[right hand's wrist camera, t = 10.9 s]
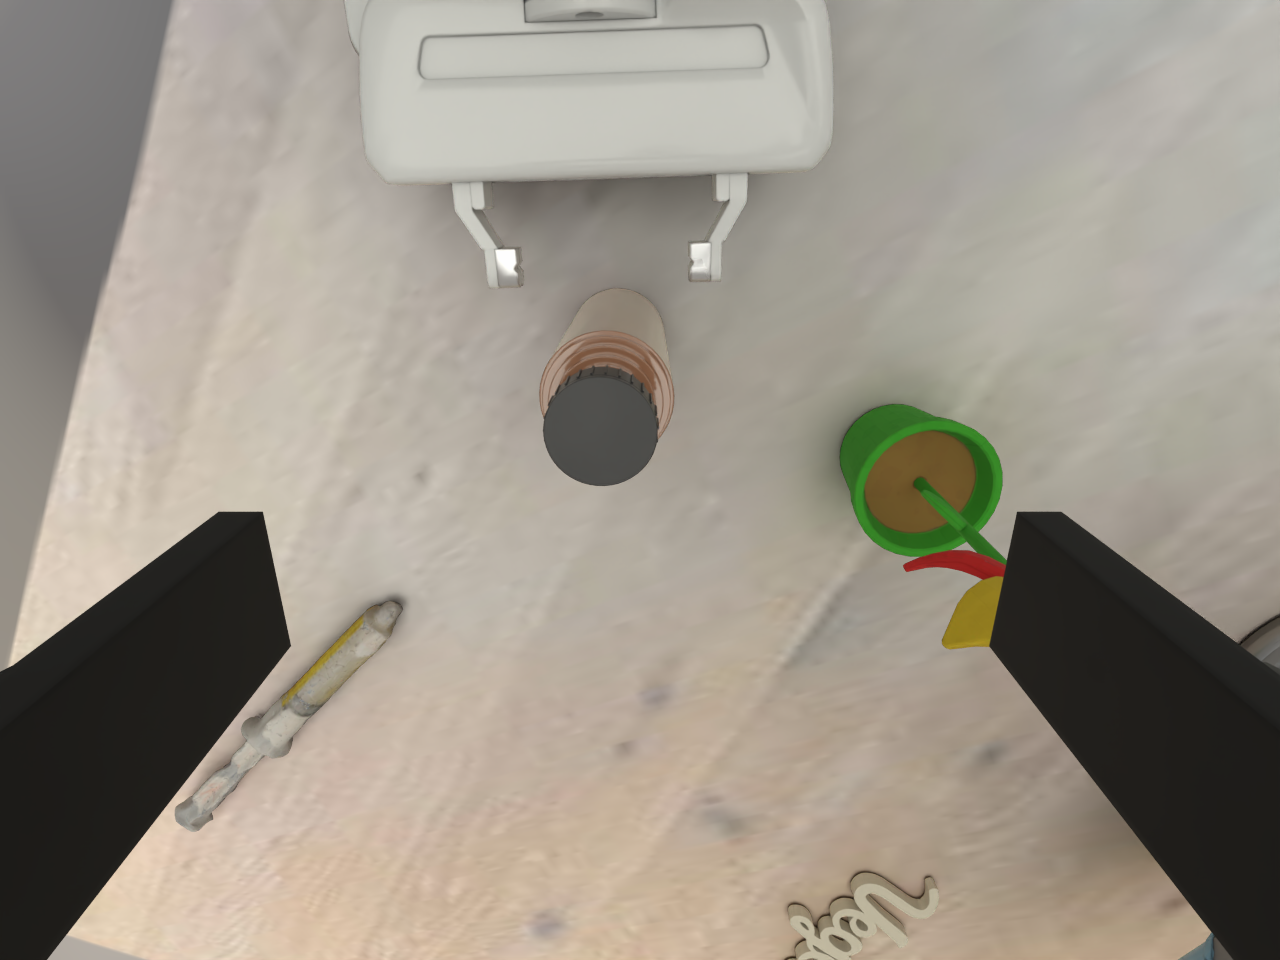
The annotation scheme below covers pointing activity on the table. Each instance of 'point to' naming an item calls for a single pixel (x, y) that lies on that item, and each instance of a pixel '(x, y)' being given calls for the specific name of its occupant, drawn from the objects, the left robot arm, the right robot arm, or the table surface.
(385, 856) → the table surface
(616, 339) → the bottle
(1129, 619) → the right robot arm
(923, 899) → the decorative sign
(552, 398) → the cap
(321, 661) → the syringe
